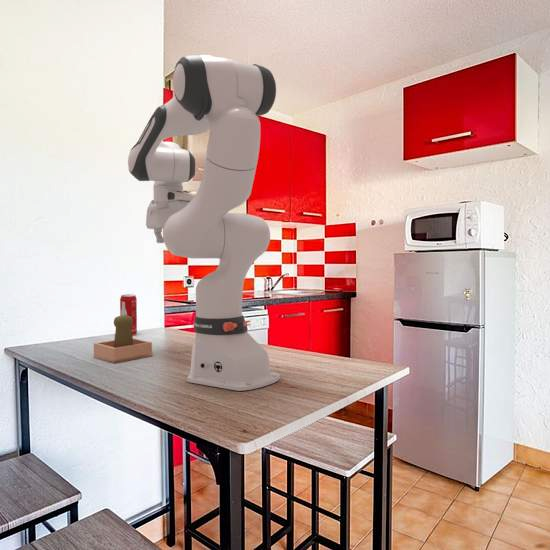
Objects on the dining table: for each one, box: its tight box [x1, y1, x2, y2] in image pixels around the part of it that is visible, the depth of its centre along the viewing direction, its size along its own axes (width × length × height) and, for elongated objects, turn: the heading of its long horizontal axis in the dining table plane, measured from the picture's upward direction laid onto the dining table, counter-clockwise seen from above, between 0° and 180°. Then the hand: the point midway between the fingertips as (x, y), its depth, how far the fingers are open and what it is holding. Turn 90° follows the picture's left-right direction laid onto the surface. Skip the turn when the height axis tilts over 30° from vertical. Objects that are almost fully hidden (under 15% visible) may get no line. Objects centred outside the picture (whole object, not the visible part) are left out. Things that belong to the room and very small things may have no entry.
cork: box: [113, 315, 134, 348], centre depth 125 cm, size 6×6×11 cm
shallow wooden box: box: [93, 337, 153, 364], centre depth 125 cm, size 12×12×4 cm
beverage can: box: [119, 293, 138, 337], centre depth 160 cm, size 6×6×15 cm
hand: (169, 242), depth 134 cm, fingers open, 8 cm apart
